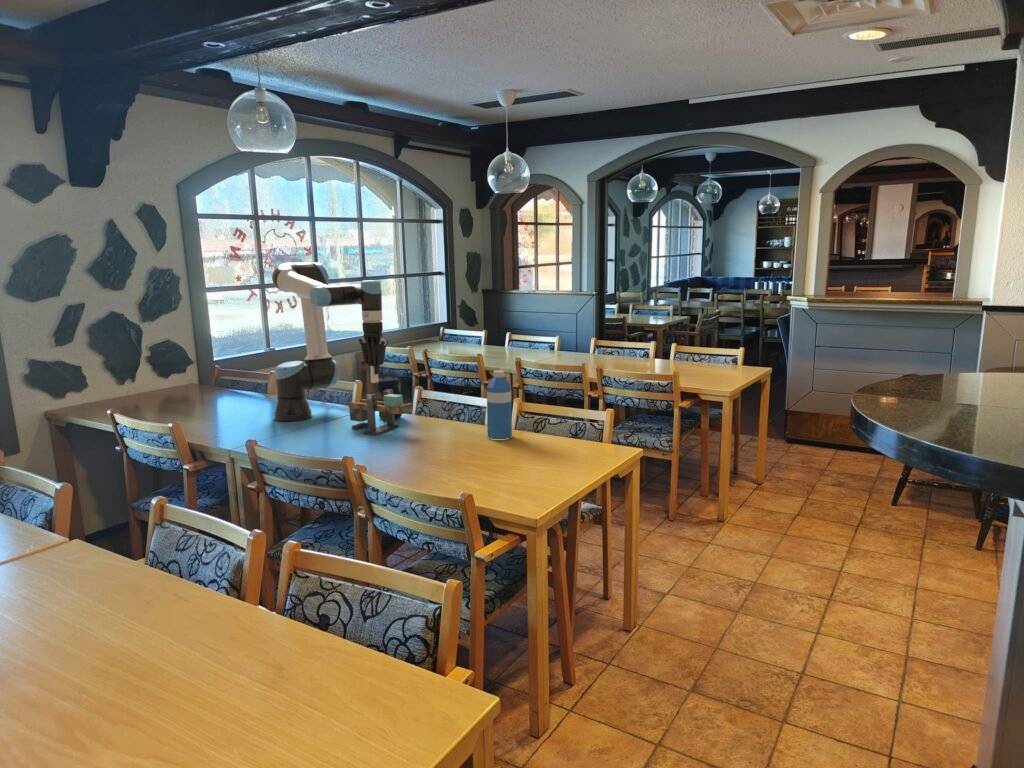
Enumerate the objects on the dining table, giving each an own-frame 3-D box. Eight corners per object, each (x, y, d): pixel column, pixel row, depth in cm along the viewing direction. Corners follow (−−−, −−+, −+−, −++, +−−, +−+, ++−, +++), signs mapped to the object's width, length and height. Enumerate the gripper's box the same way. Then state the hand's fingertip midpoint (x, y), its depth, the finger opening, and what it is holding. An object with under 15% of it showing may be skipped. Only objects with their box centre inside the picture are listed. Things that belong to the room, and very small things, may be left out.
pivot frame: (363, 433, 260) (361, 394, 257) (387, 425, 272) (385, 388, 269) (375, 435, 257) (373, 396, 254) (399, 427, 269) (397, 389, 266)
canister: (399, 421, 279) (397, 378, 276) (376, 421, 279) (374, 378, 276) (403, 415, 289) (401, 374, 285) (381, 415, 289) (379, 374, 285)
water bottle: (482, 439, 251) (481, 372, 246) (494, 433, 259) (493, 368, 254) (504, 441, 247) (503, 374, 242) (516, 435, 255) (516, 370, 250)
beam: (348, 420, 267) (346, 391, 265) (364, 415, 274) (362, 387, 272) (400, 428, 254) (398, 397, 252) (415, 422, 261) (413, 393, 259)
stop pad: (352, 428, 268) (351, 425, 268) (364, 424, 274) (364, 422, 274) (357, 429, 266) (357, 426, 266) (369, 425, 272) (369, 422, 272)
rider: (384, 408, 259) (383, 395, 259) (390, 406, 263) (390, 393, 262) (396, 410, 256) (395, 397, 256) (403, 408, 260) (402, 395, 259)
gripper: (352, 321, 258) (355, 382, 262) (378, 323, 251) (381, 385, 256) (366, 319, 264) (368, 379, 269) (392, 321, 258) (394, 382, 262)
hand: (374, 382), depth 262 cm, fingers closed
